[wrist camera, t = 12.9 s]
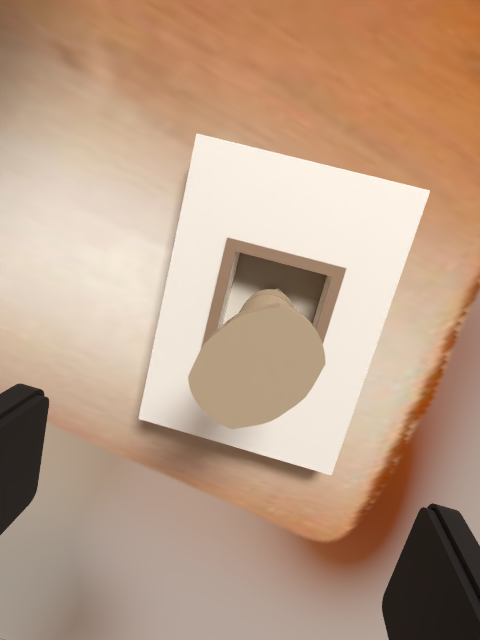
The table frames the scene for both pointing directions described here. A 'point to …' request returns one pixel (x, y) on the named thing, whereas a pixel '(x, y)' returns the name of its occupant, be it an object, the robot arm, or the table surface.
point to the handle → (257, 363)
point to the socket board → (291, 249)
